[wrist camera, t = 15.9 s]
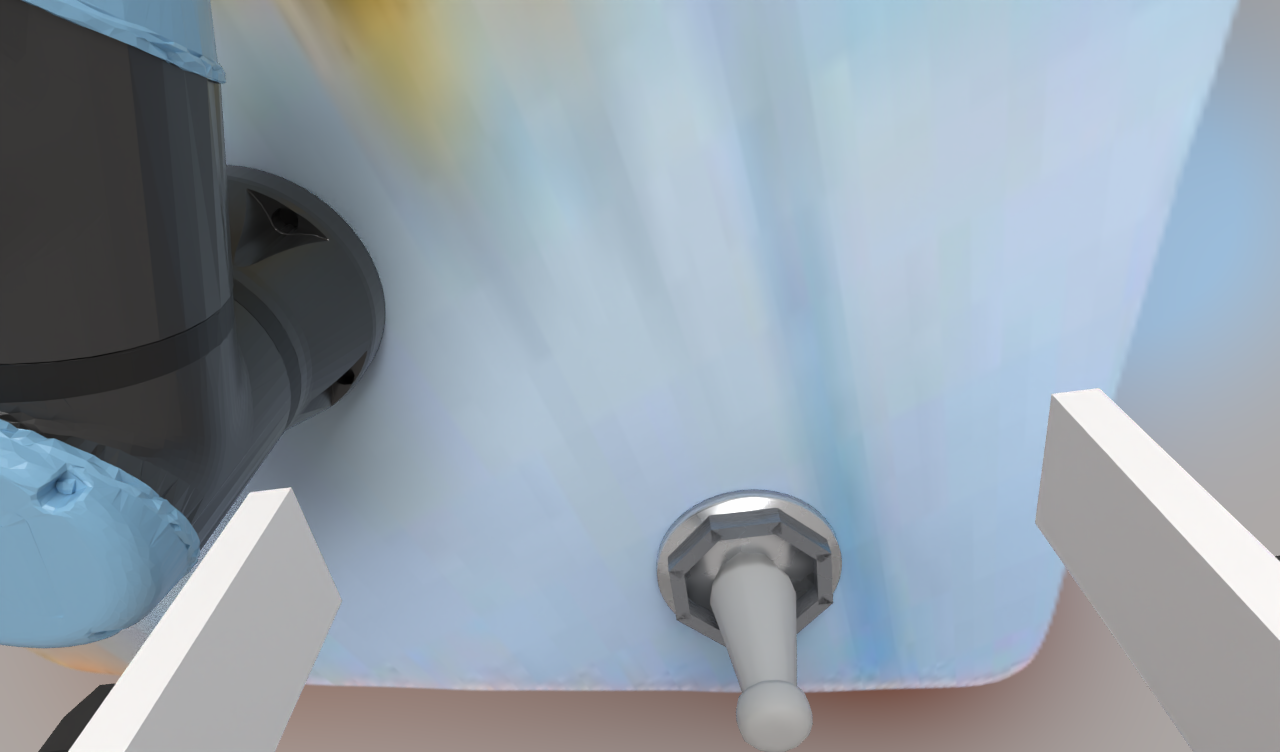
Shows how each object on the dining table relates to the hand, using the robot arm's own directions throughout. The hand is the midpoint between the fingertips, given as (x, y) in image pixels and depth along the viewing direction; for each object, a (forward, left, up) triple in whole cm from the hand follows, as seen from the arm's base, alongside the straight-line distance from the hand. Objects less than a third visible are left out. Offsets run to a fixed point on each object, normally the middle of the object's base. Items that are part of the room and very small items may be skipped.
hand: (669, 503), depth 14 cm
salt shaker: (+3, -31, -31) cm, 44 cm away
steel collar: (+3, -31, -32) cm, 44 cm away
